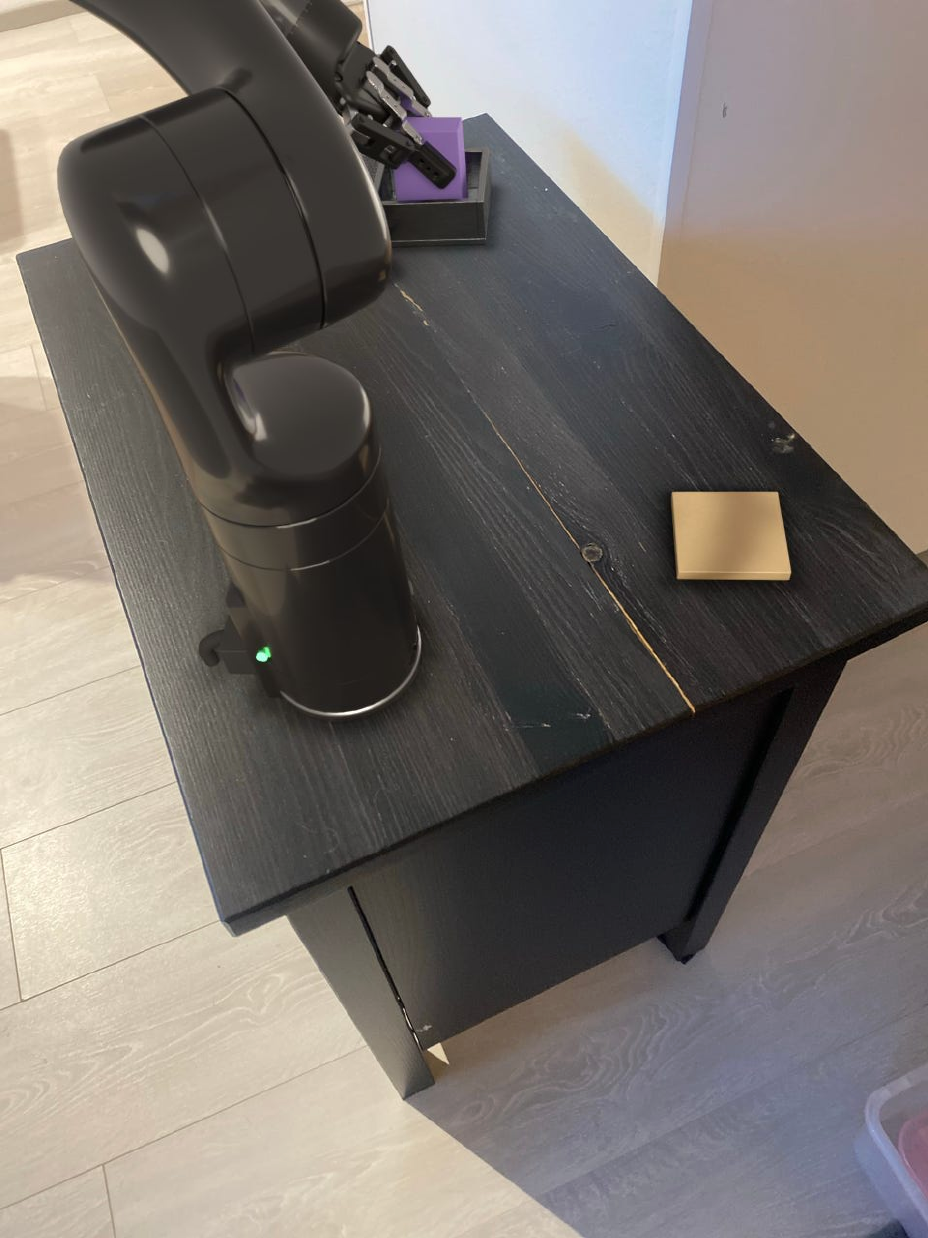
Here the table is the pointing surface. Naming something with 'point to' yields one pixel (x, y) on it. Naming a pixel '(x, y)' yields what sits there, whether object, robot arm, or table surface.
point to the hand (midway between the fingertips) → (452, 170)
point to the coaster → (729, 536)
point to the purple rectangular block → (450, 144)
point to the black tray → (440, 208)
